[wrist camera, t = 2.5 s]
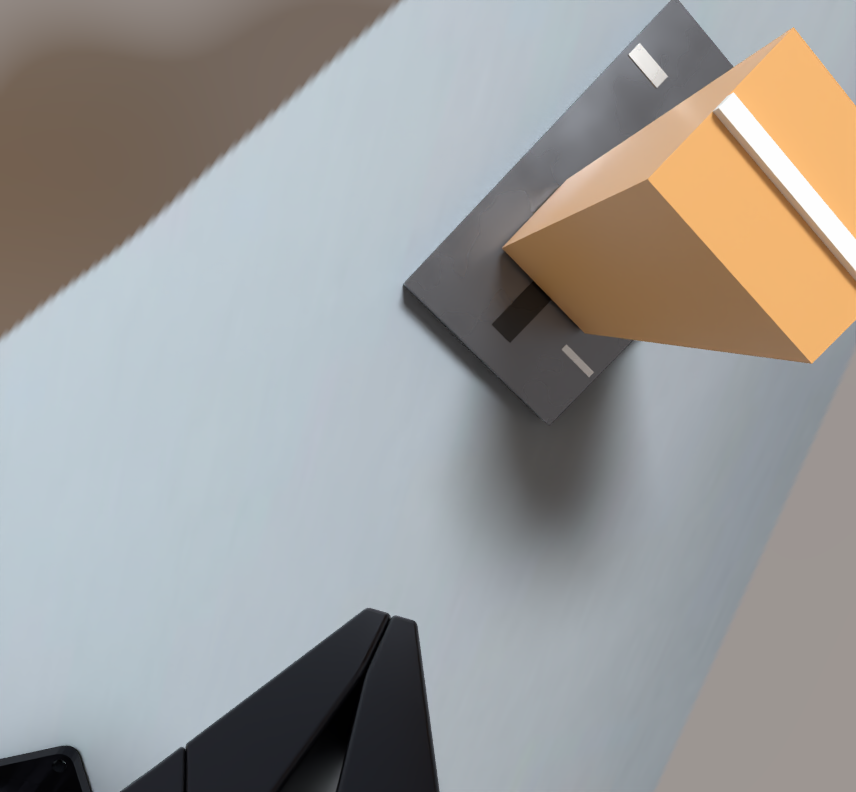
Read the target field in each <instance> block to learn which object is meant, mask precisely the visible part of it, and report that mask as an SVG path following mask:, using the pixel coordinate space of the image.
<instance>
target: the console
mask: <svg viewBox="0 0 856 792" xmlns="http://www.w3.org/2000/svg"><path fill="white" fill-rule="evenodd" d="M732 68H733V66H732V65H731V63H730V62H729V61H728V60H727V58H726V57H725V56H724V55H723V54H722V52H721V51H720V50H719V49H718V47H717V46H716V45H715V44H714V43H713V41H712V40H711V39H710V38H709V37H708V35H707V34H706V33H705V32H704V30H703V29H702V28H701V27H700V26H699V24H698V23H697V22H696V21H695V20H694V18H693V17H692V16H691V15H690V13H689V12H688V11H687V10H686V9H685V7H684V6H683V5H682V4H681V3H680V1H679V0H671V1H670V2H669V3H668V4H667V5H666V6H665V7H664V8H663V9H662V10H661V11H660V12H659V13H658V14H657V15H656V16H655V18H654V19H653V20H652V21H651V22H650V23H649V24H648V25H647V26H646V27H645V28H644V29H643V30H642V31H641V32H640V33H639V35H638V36H637V37H636V38H635V39H634V40H633V41H632V42H631V43H630V44H629V45H628V46H627V47H626V48H625V49H624V50H623V51H622V53H621V54H620V55H619V56H618V57H617V58H616V59H615V60H614V61H613V62H612V63H611V64H610V65H609V66H608V67H607V68H606V69H605V71H604V72H603V73H602V74H601V75H600V76H599V77H598V78H597V79H596V80H595V81H594V82H593V83H592V84H591V85H590V86H589V88H588V89H587V90H586V91H585V92H584V93H583V94H582V95H581V96H580V97H579V98H578V99H577V100H576V101H575V102H574V103H573V104H572V106H571V107H570V108H569V109H568V110H567V111H566V112H565V113H564V114H563V115H562V116H561V117H560V118H559V119H558V120H557V121H556V122H555V124H554V125H553V126H552V127H551V128H550V129H549V130H548V131H547V132H546V133H545V134H544V135H543V136H542V137H541V138H540V139H539V141H538V142H537V143H536V144H535V145H534V146H533V147H532V148H531V149H530V150H529V151H528V152H527V153H526V154H525V155H524V156H523V157H522V159H521V160H520V161H519V162H518V163H517V164H516V165H515V166H514V167H513V168H512V169H511V170H510V171H509V172H508V173H507V174H506V176H505V177H504V178H503V179H502V180H501V181H500V182H499V183H498V184H497V185H496V186H495V187H494V188H493V189H492V190H491V191H490V192H489V194H488V195H487V196H486V197H485V198H484V199H483V200H482V201H481V202H480V203H479V204H478V205H477V206H476V207H475V208H474V209H473V210H472V212H471V213H470V214H469V215H468V216H467V217H466V218H465V219H464V220H463V221H462V222H461V223H460V224H459V225H458V226H457V227H456V229H455V230H454V231H453V232H452V233H451V234H450V235H449V236H448V237H447V238H446V239H445V240H444V241H443V242H442V243H441V244H440V245H439V247H438V248H437V249H436V250H435V251H434V252H433V253H432V254H431V255H430V256H429V257H428V258H427V259H426V260H425V261H424V262H423V263H422V265H421V266H420V267H419V268H418V269H417V270H416V271H415V272H414V273H413V274H412V275H411V276H410V277H409V278H408V279H407V280H406V282H405V283H404V284H403V285H404V286H405V287H406V288H407V289H408V290H409V291H410V292H411V293H412V294H413V295H414V296H416V297H417V298H418V299H419V300H420V301H421V302H422V303H423V304H424V305H425V306H426V307H427V308H428V309H429V310H430V311H431V312H432V313H433V314H434V315H435V316H436V317H437V318H438V319H439V320H440V321H441V322H442V323H443V324H444V325H445V326H446V327H447V328H448V329H449V330H450V331H451V332H452V333H453V334H454V335H455V336H456V337H457V338H459V339H460V340H461V341H462V342H463V343H464V344H465V345H466V346H467V347H468V348H469V349H470V350H471V351H472V352H473V353H474V354H475V355H476V356H477V357H478V358H479V359H480V360H481V361H482V362H483V363H484V364H485V365H486V366H487V367H488V368H489V369H490V370H491V371H492V372H493V373H494V374H495V375H496V376H497V377H498V378H499V379H500V380H502V381H503V382H504V383H505V384H506V385H507V386H508V387H509V388H510V389H511V390H512V391H513V392H514V393H515V394H516V395H517V396H518V397H519V398H520V399H521V400H522V401H523V402H524V403H525V404H526V405H527V406H528V407H529V408H530V409H531V410H532V411H533V412H534V413H535V414H536V415H537V416H538V417H539V418H540V419H541V420H543V421H544V422H546V423H547V424H548V425H550V424H551V423H552V422H553V421H554V420H555V419H556V418H557V417H558V416H559V415H560V414H561V413H562V412H563V411H564V410H565V409H566V408H567V407H568V406H569V405H570V404H571V403H572V402H573V401H574V400H575V399H576V398H577V397H578V396H579V395H580V394H581V393H582V392H583V391H584V390H585V389H586V388H587V387H588V385H589V384H590V383H591V382H592V381H593V380H594V379H595V378H596V377H597V376H598V375H599V374H600V373H601V372H602V371H603V370H604V369H605V368H606V367H607V366H608V365H609V364H610V363H611V362H612V361H613V360H614V359H615V358H616V357H617V356H618V355H619V354H620V353H621V352H622V351H623V350H624V349H625V348H626V347H627V346H628V345H629V344H630V343H631V342H632V341H633V340H631V339H623V338H615V337H608V336H600V335H593V334H585V333H584V332H583V331H582V330H581V329H580V328H579V327H578V326H577V325H576V324H575V323H574V322H573V321H572V320H571V319H570V318H569V317H568V316H567V315H566V314H565V313H564V312H563V310H562V309H561V308H560V307H559V306H558V305H557V304H556V303H555V302H554V301H553V300H552V299H551V298H550V297H549V296H548V295H547V294H546V293H545V292H544V291H543V290H542V289H541V288H540V287H539V286H538V285H537V284H536V283H535V282H534V281H533V280H532V279H531V278H530V277H529V275H528V274H527V273H526V272H525V271H524V270H523V269H522V268H521V267H520V266H519V265H518V264H517V263H516V262H515V261H514V260H513V259H512V258H511V257H510V256H509V255H508V254H507V253H506V252H505V251H504V250H503V249H502V247H503V246H504V245H505V244H506V243H507V242H508V241H509V240H510V239H511V238H512V237H513V236H514V235H515V233H516V232H517V231H518V230H519V229H520V228H521V227H522V226H523V225H524V224H525V223H526V222H527V221H528V220H529V219H530V218H531V217H532V216H533V215H534V213H535V212H536V211H537V210H538V209H539V208H540V207H541V206H542V205H543V204H544V203H545V202H546V201H547V200H548V199H549V198H550V197H551V196H552V195H553V194H554V192H555V191H556V190H557V189H558V188H559V187H560V186H561V185H562V184H563V183H564V182H565V181H566V180H567V179H568V178H570V177H571V176H573V175H574V174H576V173H577V172H579V171H580V170H582V169H583V168H585V167H586V166H588V165H589V164H591V163H592V162H594V161H595V160H597V159H598V158H600V157H601V156H603V155H604V154H606V153H607V152H609V151H610V150H612V149H613V148H614V147H616V146H617V145H619V144H620V143H622V142H623V141H625V140H626V139H628V138H629V137H631V136H632V135H634V134H635V133H637V132H638V131H640V130H641V129H643V128H644V127H646V126H647V125H649V124H650V123H652V122H653V121H655V120H656V119H658V118H659V117H661V116H662V115H664V114H665V113H667V112H668V111H670V110H671V109H673V108H674V107H675V106H677V105H678V104H680V103H681V102H683V101H684V100H686V99H687V98H689V97H690V96H692V95H693V94H695V93H696V92H698V91H699V90H701V89H702V88H704V87H705V86H707V85H708V84H710V83H711V82H713V81H714V80H716V79H717V78H719V77H720V76H722V75H723V74H725V73H726V72H728V71H729V70H731V69H732Z"/></svg>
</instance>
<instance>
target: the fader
mask: <svg viewBox="0 0 856 792" xmlns="http://www.w3.org/2000/svg"><path fill="white" fill-rule="evenodd" d="M502 249H503V250H504V251H505V252H506V253H507V254H508V255H509V256H510V257H511V258H512V259H513V260H514V261H515V262H516V263H517V264H518V265H519V266H520V267H521V268H522V269H523V270H524V271H525V272H526V273H527V274H528V275H529V277H530V278H531V279H532V280H533V281H534V282H535V283H536V284H537V285H538V286H539V287H540V288H541V289H542V290H543V291H544V292H545V293H546V294H547V295H548V296H549V297H550V298H551V299H552V300H553V301H554V302H555V303H556V304H557V305H558V306H559V307H560V308H561V309H562V310H563V312H564V313H565V314H566V315H567V316H568V317H569V318H570V319H571V320H572V321H573V322H574V323H575V324H576V325H577V326H578V327H579V328H580V329H581V330H582V331H583V332H584V333H585V334H593V335H600V336H608V337H615V338H623V339H631V340H638V341H646V342H653V343H661V344H668V345H676V346H683V347H691V348H698V349H706V350H713V351H721V352H728V353H736V354H743V355H751V356H758V357H766V358H773V359H781V360H788V361H796V362H804V363H811V364H812V363H813V362H814V361H815V360H816V359H817V358H818V357H819V356H820V355H821V354H822V353H823V352H824V351H825V350H826V349H827V348H828V347H829V346H830V345H831V344H832V343H833V342H834V341H835V340H836V339H837V338H838V337H839V336H840V335H841V334H842V333H843V332H844V331H845V330H846V329H847V328H848V327H849V326H850V325H851V324H852V323H853V322H854V321H855V320H856V106H855V104H854V103H853V102H852V101H851V99H850V98H849V97H848V96H847V94H846V93H845V92H844V90H843V89H842V88H841V87H840V85H839V84H838V83H837V82H836V80H835V79H834V78H833V77H832V75H831V74H830V73H829V71H828V70H827V69H826V68H825V66H824V65H823V64H822V63H821V61H820V60H819V59H818V58H817V56H816V55H815V54H814V52H813V51H812V50H811V49H810V47H809V46H808V45H807V44H806V42H805V41H804V40H803V39H802V37H801V36H800V35H799V33H798V32H797V31H796V30H795V28H794V27H793V28H792V29H790V30H789V31H787V32H786V33H784V34H783V35H781V36H780V37H778V38H777V39H775V40H774V41H772V42H771V43H769V44H768V45H766V46H765V47H763V48H762V49H760V50H759V51H757V52H756V53H754V54H753V55H751V56H750V57H748V58H747V59H745V60H744V61H742V62H741V63H739V64H738V65H736V66H735V67H733V68H732V69H731V70H729V71H728V72H726V73H725V74H723V75H722V76H720V77H719V78H717V79H716V80H714V81H713V82H711V83H710V84H708V85H707V86H705V87H704V88H702V89H701V90H699V91H698V92H696V93H695V94H693V95H692V96H690V97H689V98H687V99H686V100H684V101H683V102H681V103H680V104H678V105H677V106H675V107H674V108H673V109H671V110H670V111H668V112H667V113H665V114H664V115H662V116H661V117H659V118H658V119H656V120H655V121H653V122H652V123H650V124H649V125H647V126H646V127H644V128H643V129H641V130H640V131H638V132H637V133H635V134H634V135H632V136H631V137H629V138H628V139H626V140H625V141H623V142H622V143H620V144H619V145H617V146H616V147H614V148H613V149H612V150H610V151H609V152H607V153H606V154H604V155H603V156H601V157H600V158H598V159H597V160H595V161H594V162H592V163H591V164H589V165H588V166H586V167H585V168H583V169H582V170H580V171H579V172H577V173H576V174H574V175H573V176H571V177H570V178H568V179H567V180H566V181H565V182H564V183H563V184H562V185H561V186H560V187H559V188H558V189H557V190H556V191H555V192H554V194H553V195H552V196H551V197H550V198H549V199H548V200H547V201H546V202H545V203H544V204H543V205H542V206H541V207H540V208H539V209H538V210H537V211H536V212H535V213H534V215H533V216H532V217H531V218H530V219H529V220H528V221H527V222H526V223H525V224H524V225H523V226H522V227H521V228H520V229H519V230H518V231H517V232H516V233H515V235H514V236H513V237H512V238H511V239H510V240H509V241H508V242H507V243H506V244H505V245H504V246H503V247H502Z"/></svg>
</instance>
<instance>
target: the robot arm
mask: <svg viewBox="0 0 856 792" xmlns="http://www.w3.org/2000/svg"><path fill="white" fill-rule="evenodd" d="M59 760H63V761H65V763H66V764H63V763H61V762H60V761H59ZM0 792H90V788H89V785H88V782H87V779H86V776H85V772H84V769H83V766H82V763H81V760H80V756H79V754H78V752H77V750H75V749H74V748H73V747H70V746H59V747H54V748H50V749H45V750H40V751H36V752H31V753H26V754H22V755H17V756H12V757H8V758H3V759H0ZM120 792H439V784H438V777H437V769H436V762H435V754H434V747H433V739H432V732H431V724H430V717H429V709H428V702H427V694H426V687H425V679H424V671H423V664H422V656H421V649H420V641H419V634H418V627H417V623H416V622H415V621H413V620H410V619H406V618H403V617H400V616H393V617H392V618H391V617H390V615H389V614H388V613H386V612H382V611H379V610H375V609H372V608H366V609H365V610H363V611H362V612H360V613H359V614H358V615H356V616H355V617H354V618H352V619H351V620H350V621H348V622H347V623H346V624H345V625H343V626H342V627H341V628H339V629H338V630H337V631H335V632H334V633H333V634H331V635H330V636H329V637H327V638H326V639H325V640H323V641H322V642H321V643H319V644H318V645H317V646H315V647H314V648H313V649H311V650H310V651H309V652H307V653H306V654H305V655H303V656H302V657H301V658H299V659H298V660H297V661H295V662H294V663H293V664H292V665H290V666H289V667H288V668H286V669H285V670H284V671H282V672H281V673H280V674H278V675H277V676H276V677H274V678H273V679H272V680H270V681H269V682H268V683H266V684H265V685H264V686H262V687H261V688H260V689H258V690H257V691H256V692H254V693H253V694H252V695H250V696H249V697H248V698H246V699H245V700H244V701H242V702H241V703H240V704H239V705H237V706H236V707H235V708H233V709H232V710H231V711H229V712H228V713H227V714H225V715H224V716H223V717H221V718H220V719H219V720H217V721H216V722H215V723H213V724H212V725H211V726H209V727H208V728H207V729H205V730H204V731H203V732H201V733H200V734H199V735H197V736H196V737H195V738H193V739H192V740H191V741H189V742H188V743H187V744H186V750H185V748H184V747H180V748H179V749H178V750H176V751H175V752H174V753H172V754H171V755H170V756H168V757H167V758H166V759H164V760H163V761H162V762H160V763H159V764H158V765H156V766H155V767H154V768H152V769H151V770H150V771H148V772H147V773H145V774H144V775H143V776H141V777H140V778H138V779H137V780H136V781H134V782H133V783H131V784H130V785H129V786H127V787H126V788H124V789H123V790H122V791H120Z"/></svg>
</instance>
